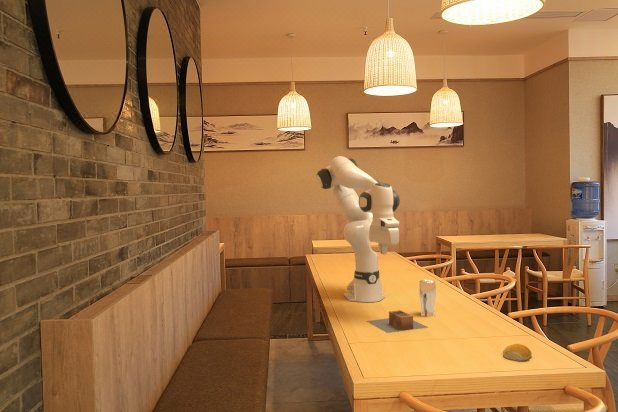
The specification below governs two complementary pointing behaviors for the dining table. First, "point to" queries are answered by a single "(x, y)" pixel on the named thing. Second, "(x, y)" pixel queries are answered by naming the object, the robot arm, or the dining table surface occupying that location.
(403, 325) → the walnut block
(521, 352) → the bread roll
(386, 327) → the rubber mat
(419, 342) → the dining table surface
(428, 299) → the beer glass
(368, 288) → the robot arm
